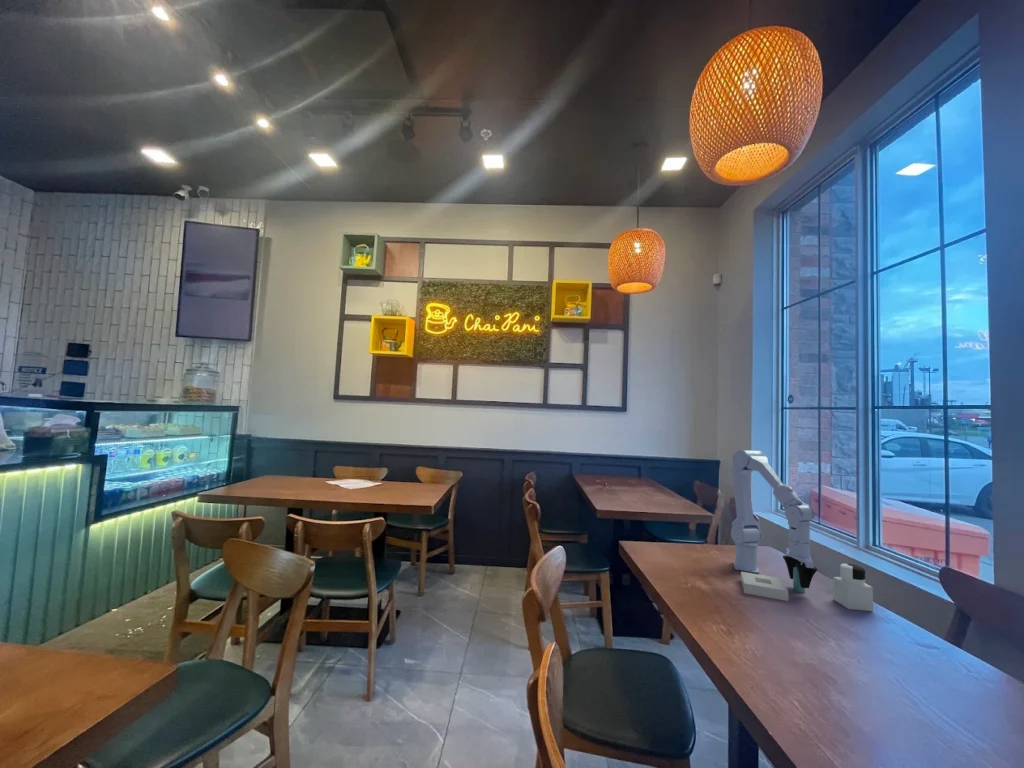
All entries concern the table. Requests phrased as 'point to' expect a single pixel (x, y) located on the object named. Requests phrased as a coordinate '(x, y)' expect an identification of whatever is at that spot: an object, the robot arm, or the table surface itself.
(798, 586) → the peg
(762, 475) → the robot arm
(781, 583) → the socket slab
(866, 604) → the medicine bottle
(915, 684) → the table surface
